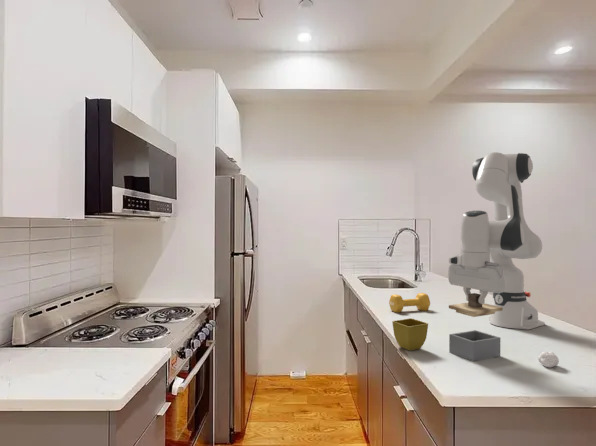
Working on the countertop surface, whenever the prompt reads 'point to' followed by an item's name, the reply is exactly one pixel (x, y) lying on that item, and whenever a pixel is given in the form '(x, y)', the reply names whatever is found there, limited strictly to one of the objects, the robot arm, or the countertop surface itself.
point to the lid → (475, 307)
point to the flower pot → (410, 333)
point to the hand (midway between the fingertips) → (475, 302)
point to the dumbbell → (409, 302)
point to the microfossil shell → (548, 359)
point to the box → (474, 345)
